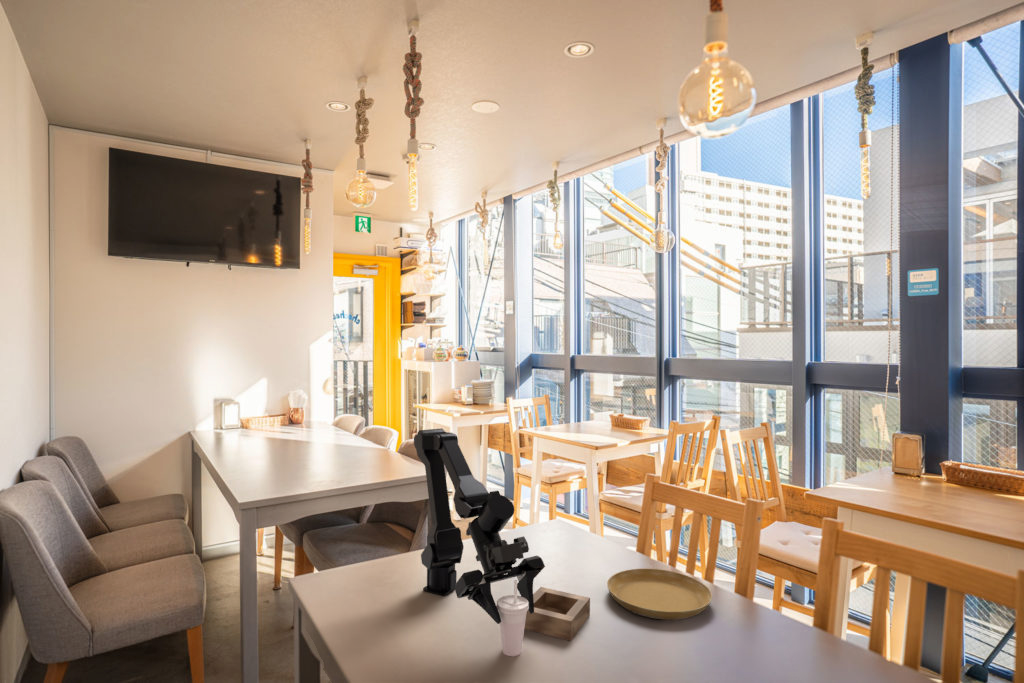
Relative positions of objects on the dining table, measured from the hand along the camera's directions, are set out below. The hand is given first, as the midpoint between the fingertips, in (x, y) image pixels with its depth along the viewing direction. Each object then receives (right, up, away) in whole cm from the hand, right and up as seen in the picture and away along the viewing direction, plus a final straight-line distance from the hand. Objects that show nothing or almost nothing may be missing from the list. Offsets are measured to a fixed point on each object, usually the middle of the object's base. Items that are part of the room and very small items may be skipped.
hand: (516, 617), depth 110 cm
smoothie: (-1, -7, +1) cm, 7 cm away
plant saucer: (+34, -8, +24) cm, 42 cm away
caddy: (+8, -7, +13) cm, 17 cm away
